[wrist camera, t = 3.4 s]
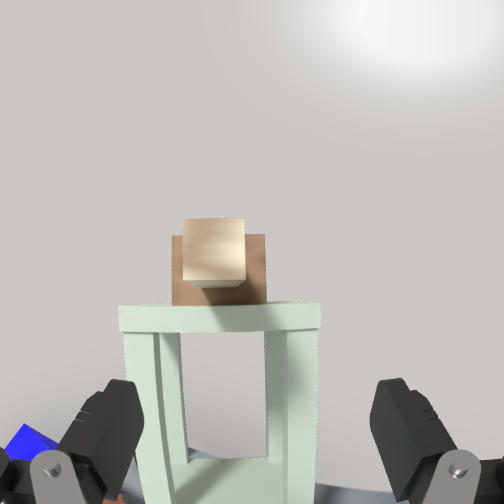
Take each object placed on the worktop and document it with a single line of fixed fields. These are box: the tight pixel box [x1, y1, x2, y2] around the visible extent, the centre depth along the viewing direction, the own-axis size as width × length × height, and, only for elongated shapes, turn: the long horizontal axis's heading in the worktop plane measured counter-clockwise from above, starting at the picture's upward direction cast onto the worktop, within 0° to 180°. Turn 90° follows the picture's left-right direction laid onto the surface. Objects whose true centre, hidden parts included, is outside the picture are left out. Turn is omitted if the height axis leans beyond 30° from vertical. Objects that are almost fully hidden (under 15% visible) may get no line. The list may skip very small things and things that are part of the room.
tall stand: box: [119, 301, 321, 504], centre depth 30 cm, size 16×16×32 cm
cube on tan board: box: [172, 218, 267, 306], centre depth 26 cm, size 8×20×6 cm, turn 5°
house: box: [4, 424, 125, 504], centre depth 31 cm, size 12×20×12 cm, turn 58°
